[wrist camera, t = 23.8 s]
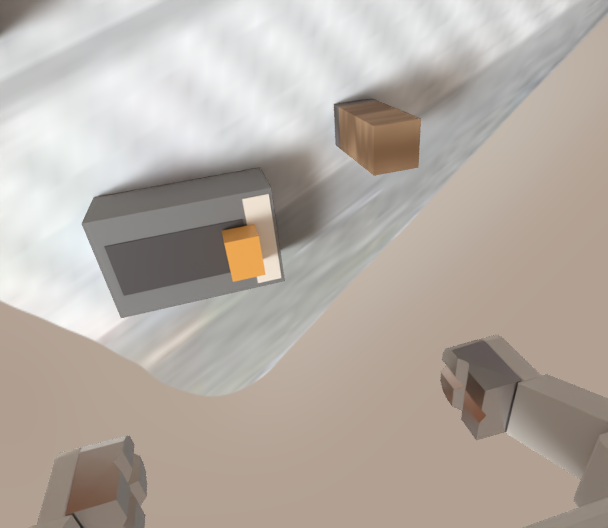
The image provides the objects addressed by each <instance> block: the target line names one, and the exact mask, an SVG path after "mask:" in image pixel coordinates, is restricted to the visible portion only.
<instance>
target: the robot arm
mask: <svg viewBox="0 0 608 528" xmlns="http://www.w3.org/2000/svg"><path fill="white" fill-rule="evenodd" d="M442 360H443V362H445V364H446V366H445V367H444V368H443V370H442V371H441V380H440V381H441V385H442V389H443V392H444V394H445V396H446V398H447V400H448V401H449V403H450V404H451V405H452V406H453V407H455V408H457V409H459V410H461V411H462V417H461V420H462V421H463V422H464V424H465V425H466V427H467V428H468V429H469V431H470V432H471V433H472V435H473V436H474V438H475V439H476V440H478V439H482V438H486V437H489V436H493V435H496V434H500V433H504V432H507V434H508V435H510V436H511V437H513V438H515V439H516V440H518V441H519V442H521V443H522V444H524V445H526V446H527V447H529V448H530V449H532V450H534V451H536V452H537V453H539V454H540V455H542V456H543V457H545V458H547V459H548V460H550V461H552V462H553V463H555V464H556V465H558V466H560V467H561V468H563V469H564V470H566V471H568V472H569V473H571V474H573V475H574V476H576V477H577V478H579V479H580V480H581V481H580V483H579V486H578V488H577V491H576V493H575V496H574V502H575V503H576V504H577V506H578V507H579V508H576V509H573V510H571V511H568V512H565V513H562V514H560V515H557V516H554V517H551V518H548V519H546V520H543V521H540V522H537V523H535V524H532V525H529V526H526V527H523V528H608V398H605V397H603V396H601V395H598V394H595V393H593V392H590V391H588V390H585V389H583V388H580V387H577V386H575V385H573V384H570V383H567V382H565V381H563V380H560V379H557V378H555V377H552V376H550V375H547V374H546V375H541V374H540V373H539V372H537V370H535V369H534V368H533V367H532V366H531V365H530V364H529V363H528V362H527V361H526V360H525V359H524V358H523V357H522V356H521V355H520V354H519V353H518V352H517V351H516V350H515V349H514V348H513V347H512V346H511V345H510V344H509V343H508V342H507V341H506V340H504V339H503V338H502V337H501V336H499V335H493V336H489V337H486V338H482V339H479V340H474V341H471V342H467V343H464V344H460V345H457V346H453V347H450V348H446V349H445V350H444V352H443V357H442ZM146 496H147V480H146V471H145V467H144V464H143V461H142V459H141V457H140V456H138V455H136V454H134V443H133V441H132V439H131V437H130V436H124V437H120V438H117V439H112V440H108V441H105V442H100V443H96V444H92V445H88V446H84V447H81V448H77V449H73V450H69V451H65V452H61V453H59V455H58V456H57V458H56V459H55V461H54V464H53V468H52V472H51V475H50V479H49V482H48V486H47V489H46V493H45V497H44V500H43V504H42V508H41V511H40V515H39V518H38V522H37V525H34V526H31V527H29V528H144V526H145V514H144V512H143V510H142V508H141V507H140V506H141V504H142V503H143V501H144V500H145V498H146Z"/></svg>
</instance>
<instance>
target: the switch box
mask: <svg viewBox="0 0 608 528" xmlns="http://www.w3.org/2000/svg"><path fill="white" fill-rule="evenodd" d="M252 224H254V225H255V227H256V230H257V233H258V235H259V240H260V246H261V251H262V257H263V263H264V268H265V274H266V275H262V276H257V277H253V278H249V279H244V280H240V281H235V282H233V280H232V276H231V271H230V267H229V262H228V258H227V254H226V249H225V245H224V240H223V235H222V231H223V230H228V229H232V228H237V227H242V226H247V225H252ZM82 226H83V228H84V230H85V233H86V235H87V238H88V240H89V242H90V245H91V247H92V250H93V252H94V254H95V257H96V259H97V262H98V264H99V266H100V269H101V271H102V274H103V276H104V278H105V281H106V283H107V286H108V288H109V290H110V293H111V295H112V298H113V300H114V302H115V305H116V307H117V310H118V312H119V314H120V317H121V318H124V317H129V316H133V315H138V314H142V313H146V312H151V311H155V310H159V309H164V308H168V307H173V306H177V305H181V304H186V303H190V302H195V301H199V300H203V299H208V298H212V297H216V296H221V295H225V294H230V293H234V292H238V291H243V290H247V289H251V288H256V287H260V286H265V285H269V284H273V283H278V282H282V281H285V278H284V272H283V265H282V258H281V251H280V245H279V238H278V231H277V224H276V218H275V211H274V204H273V197H272V191H271V187H270V185H269V183H268V181H267V180H266V178H265V176H264V174H263V172H262V171H261V169H260V168H255V169H250V170H244V171H239V172H233V173H228V174H222V175H216V176H211V177H205V178H200V179H194V180H189V181H183V182H178V183H172V184H167V185H161V186H156V187H150V188H145V189H139V190H133V191H128V192H122V193H117V194H111V195H106V196H100V197H95V198H93V200H92V202H91V204H90V207H89V209H88V211H87V213H86V215H85V217H84V220H83V222H82Z"/></svg>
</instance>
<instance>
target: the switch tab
mask: <svg viewBox="0 0 608 528" xmlns="http://www.w3.org/2000/svg"><path fill="white" fill-rule="evenodd" d="M222 235H223V240H224V245H225V249H226V254H227V258H228V262H229V267H230V271H231V276H232V280H233V282H235V281H240V280H244V279H249V278H253V277H257V276H262V275H266V274H265V268H264V263H263V257H262V251H261V246H260V240H259V235H258V233H257V230H256V227H255V225H254V224H252V225H247V226H242V227H237V228H232V229H228V230H223V231H222Z"/></svg>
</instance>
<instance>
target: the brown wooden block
mask: <svg viewBox="0 0 608 528" xmlns="http://www.w3.org/2000/svg"><path fill="white" fill-rule="evenodd" d="M334 117H335V138H336V146H338V147H339V148H340V149H341V150H343V151H344V152H345V153H346V154H348V155H349V156H350V157H351V158H353V159H354V160H355V161H356V162H358V163H359V164H360V165H361V166H363V167H364V168H365V169H366V170H368V171H369V172H370V173H371V174H373V175H379V174H385V173H391V172H396V171H402V170H407V169H413V168H418V163H419V145H420V127H421V119H420V118H418V117H415V116H413V115H410V114H408V113H406V112H403V111H401V110H398V109H396V108H394V107H391V106H389V105H386V104H384V103H382V102H379V101H377V100H374V99H366V100H359V101H353V102H346V103H339V104H334Z"/></svg>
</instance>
